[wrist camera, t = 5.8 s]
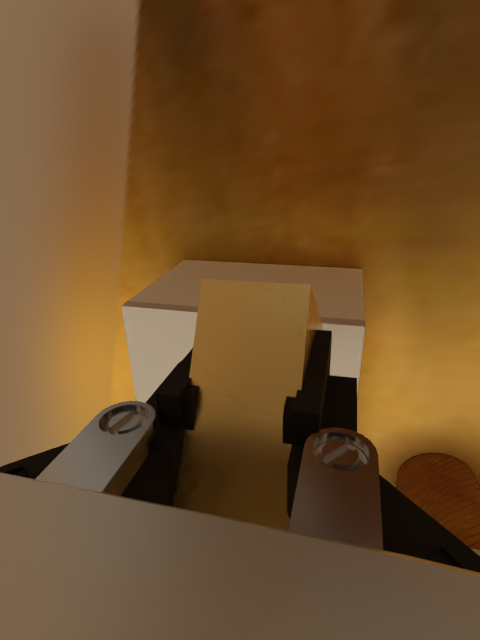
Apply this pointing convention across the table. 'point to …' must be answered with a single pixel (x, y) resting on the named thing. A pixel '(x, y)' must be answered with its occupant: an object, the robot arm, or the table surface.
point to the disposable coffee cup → (444, 494)
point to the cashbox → (185, 280)
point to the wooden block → (245, 397)
